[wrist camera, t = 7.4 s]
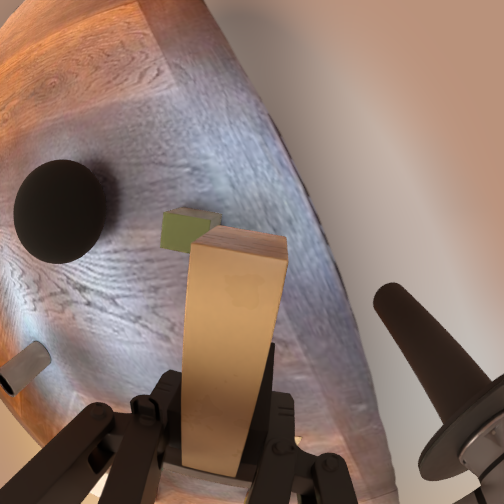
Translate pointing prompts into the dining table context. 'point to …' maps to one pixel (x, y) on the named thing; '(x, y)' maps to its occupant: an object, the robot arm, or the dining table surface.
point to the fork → (226, 349)
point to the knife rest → (186, 227)
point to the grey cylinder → (23, 368)
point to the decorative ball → (59, 211)
